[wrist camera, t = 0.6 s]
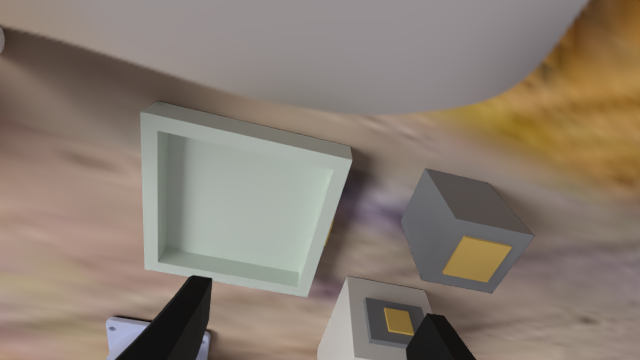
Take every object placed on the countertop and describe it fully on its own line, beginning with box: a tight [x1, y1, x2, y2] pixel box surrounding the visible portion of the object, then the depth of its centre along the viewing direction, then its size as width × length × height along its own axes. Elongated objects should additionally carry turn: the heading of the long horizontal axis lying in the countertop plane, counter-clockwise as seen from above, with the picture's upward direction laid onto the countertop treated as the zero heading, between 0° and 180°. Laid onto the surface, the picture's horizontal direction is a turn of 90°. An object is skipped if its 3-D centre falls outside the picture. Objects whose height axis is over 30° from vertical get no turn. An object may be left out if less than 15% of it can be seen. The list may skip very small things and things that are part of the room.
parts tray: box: [140, 101, 352, 297], centre depth 19 cm, size 11×11×2 cm
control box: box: [317, 276, 433, 360], centre depth 23 cm, size 10×6×6 cm
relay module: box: [401, 168, 535, 293], centre depth 18 cm, size 4×4×5 cm
